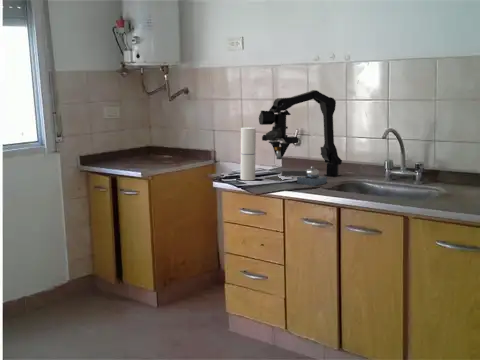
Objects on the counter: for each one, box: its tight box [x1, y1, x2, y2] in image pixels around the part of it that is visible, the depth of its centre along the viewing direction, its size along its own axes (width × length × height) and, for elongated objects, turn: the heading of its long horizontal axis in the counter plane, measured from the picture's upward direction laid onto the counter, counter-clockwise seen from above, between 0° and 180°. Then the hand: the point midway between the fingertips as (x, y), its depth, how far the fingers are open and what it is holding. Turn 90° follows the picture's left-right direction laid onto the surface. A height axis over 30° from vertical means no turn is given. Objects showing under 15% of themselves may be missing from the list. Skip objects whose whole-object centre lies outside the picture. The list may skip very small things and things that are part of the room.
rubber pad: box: [264, 174, 282, 182], centre depth 284 cm, size 10×10×1 cm
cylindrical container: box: [240, 126, 257, 181], centre depth 279 cm, size 7×7×25 cm
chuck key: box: [275, 145, 284, 160], centre depth 282 cm, size 6×3×6 cm, turn 136°
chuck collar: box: [280, 166, 320, 177], centre depth 270 cm, size 18×6×5 cm, turn 94°
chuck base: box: [296, 175, 328, 187], centre depth 272 cm, size 10×10×3 cm
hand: (279, 156), depth 282 cm, fingers closed on chuck key, 3 cm apart
